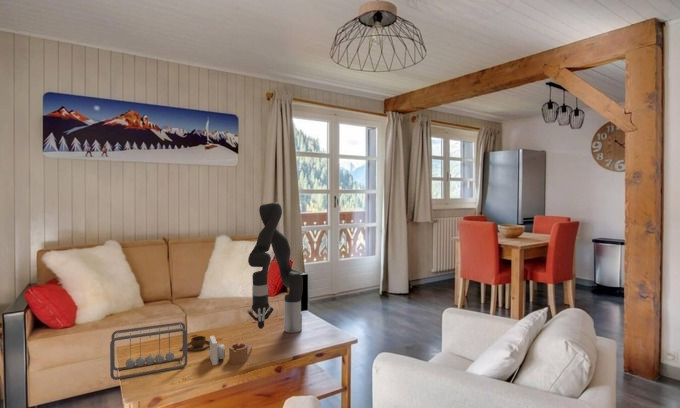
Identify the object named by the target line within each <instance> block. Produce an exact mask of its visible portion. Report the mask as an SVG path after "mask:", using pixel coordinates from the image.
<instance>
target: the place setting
mask: <svg viewBox="0 0 680 408" xmlns="http://www.w3.org/2000/svg"><path fill="white" fill-rule="evenodd" d="M205 345H206V346H205ZM190 346H192V347H194V348H189V347H190ZM203 346H205V347H203ZM207 349H208V351H210V340H207V339H206V336H204V335H196V336H193V337H191V338H190V341H189V342H187V351H190V352H200V351H204V350H207ZM179 351H182V352H183V345H182V346H181V348H179Z"/></svg>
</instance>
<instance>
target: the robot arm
mask: <svg viewBox="0 0 680 408" xmlns="http://www.w3.org/2000/svg"><path fill="white" fill-rule="evenodd" d="M282 210H283V208H282V206H281V204H280V203H279V202H270V203H269V202H268V203H265V204H264V203H263V204H261V205H260V206H259V208H258V212H259V216H260V220H261V221H262V223H263V226H264V227H263V228H261V231H259V234H258V237H257V239H256V244H255V245H254V247H253V249H252V251H251V252H250V253H249V255H248V258H247V260H248V261H247V262H248V265H249V266H250V267H253V268H262V269H261V270H258V271H255V272H253V273H252V287H251V288H252V289H251V290H252V293H251V295H252V296H251V297H252V306H251V308H250V309H249V310H247V314H249V316H250V317H251V318H252V319H253V320H254V321H255V322H257V327H258V329H260V330H262V329H264V328H265V320H268V319H269V317H270V316H271V315H272V313H273V312H274V309H275V308H274V307H272V306H270V304H269V286H268V285H269V284H268V272H269V267H270V264H271V260H272V259H271V255H270V254H269V253H268V252H269V251H270V249H271V248H272V251H273V255H274V257H275V260H276V263H277V266H278V269H279V274H280V279H281V282H282V285H284V287H286V288H288V293H287V294H285V295H284V308H283V309H284V311H283V312H284V317H283V319H284V322H283V323H284V324H283V325H284V326H283V327H284V332H285V333H288V334H296V333H299V332H301V331H303V314H302V313H301V312H302V296H303V289H304V286H303V285H304V278H303V276H302V274H300V273H298V272H295V271H294V270H293V268H292V267H291V262H290V259H291V258H290V257H291V246H290V244H289V241H288V238H287V237H286V236H285V235H284V234H283V233H282V232H281V231H280V230H279V229H278V228H277V227H278V225H279V223H280V220H281V218H282V213H283V211H282ZM254 313H255V314H256V316H255V315H254Z"/></svg>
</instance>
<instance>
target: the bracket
mask: <svg viewBox="0 0 680 408" xmlns="http://www.w3.org/2000/svg"><path fill="white" fill-rule="evenodd" d="M228 350H229V351H228V355H229V356H228V358H229V359H228V360H229V361H228V362H229V363H230V364H232V365H242V364H245V363H247V361H248V360H249V358H250V356H251V355H252V352H253V345H252V344H251V343H245V342H240V343H239V342H235V343H232V344H230V345H229V346H228Z"/></svg>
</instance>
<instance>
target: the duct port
mask: <svg viewBox="0 0 680 408" xmlns="http://www.w3.org/2000/svg"><path fill="white" fill-rule="evenodd" d="M209 341H210V350H209V359H210V361H211V364H212V366H217V365H219V361H220V360H222V359H225V358H226V348H225V344H224V343H223V344H218V342H217V339H216V337H215V335H210V336H209Z"/></svg>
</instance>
